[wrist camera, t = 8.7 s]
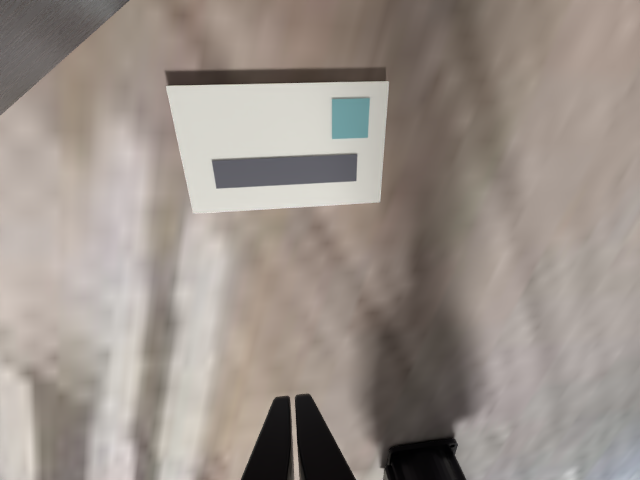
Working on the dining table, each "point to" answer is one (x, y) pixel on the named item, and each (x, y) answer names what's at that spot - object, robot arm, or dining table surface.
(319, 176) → the label plate
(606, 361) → the dining table surface
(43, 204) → the dining table surface
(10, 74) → the bar
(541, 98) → the dining table surface
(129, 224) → the dining table surface
